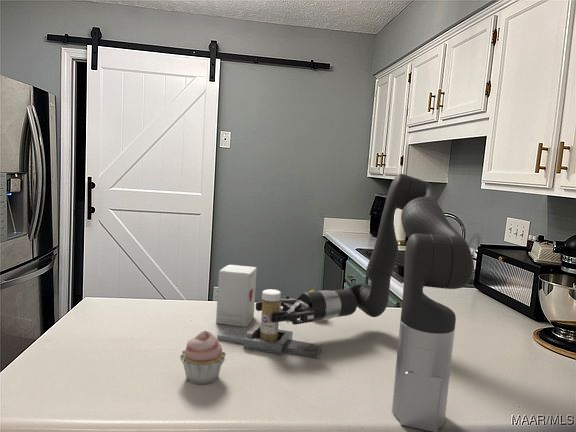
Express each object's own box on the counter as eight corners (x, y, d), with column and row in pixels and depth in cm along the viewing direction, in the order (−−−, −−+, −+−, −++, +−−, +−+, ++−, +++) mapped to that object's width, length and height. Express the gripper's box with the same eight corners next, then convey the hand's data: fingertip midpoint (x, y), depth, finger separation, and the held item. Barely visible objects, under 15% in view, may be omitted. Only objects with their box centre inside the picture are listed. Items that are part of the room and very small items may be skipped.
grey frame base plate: (314, 362, 94) (315, 347, 94) (212, 342, 101) (213, 329, 101) (323, 346, 103) (324, 333, 103) (229, 329, 110) (229, 317, 110)
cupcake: (179, 391, 78) (181, 340, 77) (178, 368, 87) (179, 322, 86) (228, 387, 81) (231, 338, 80) (222, 365, 90) (224, 321, 89)
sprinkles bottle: (256, 345, 101) (259, 292, 100) (263, 339, 106) (266, 287, 104) (273, 349, 100) (276, 295, 98) (280, 342, 104) (283, 290, 103)
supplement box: (246, 327, 113) (249, 273, 111) (215, 323, 114) (217, 270, 112) (254, 316, 121) (257, 266, 120) (225, 313, 123) (227, 263, 121)
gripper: (306, 284, 114) (252, 288, 106) (336, 299, 102) (277, 306, 94) (304, 310, 115) (250, 317, 107) (334, 329, 103) (275, 337, 95)
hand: (263, 312), depth 101 cm, fingers open, 8 cm apart
